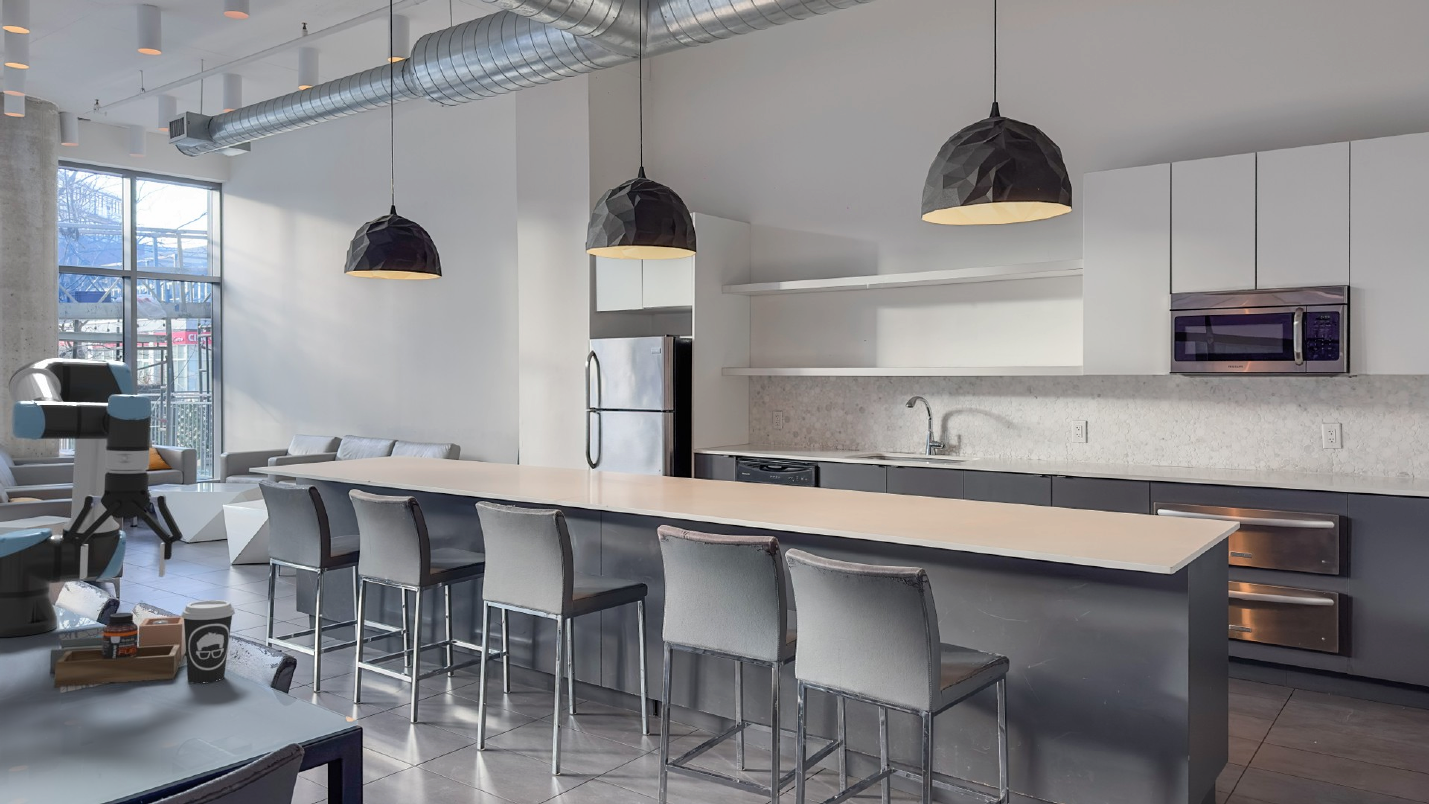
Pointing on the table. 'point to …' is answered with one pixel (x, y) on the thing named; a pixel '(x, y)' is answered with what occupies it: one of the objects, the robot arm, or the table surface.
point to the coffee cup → (207, 639)
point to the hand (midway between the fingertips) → (123, 577)
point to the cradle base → (74, 642)
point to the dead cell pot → (163, 632)
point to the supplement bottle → (120, 637)
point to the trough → (117, 666)
